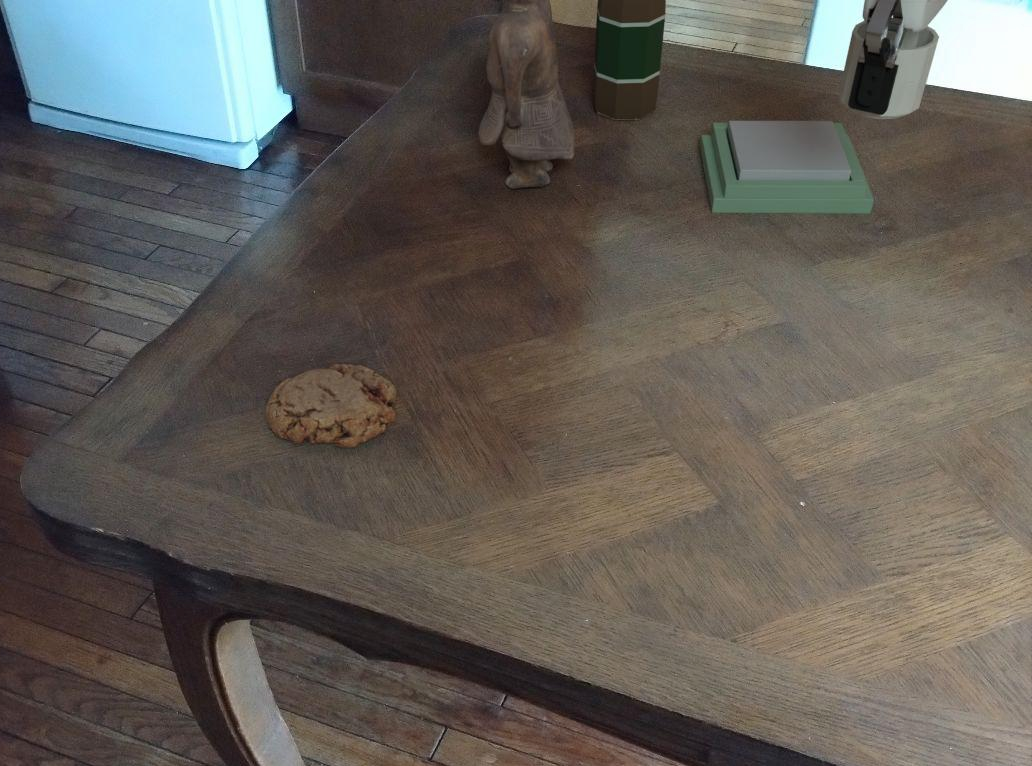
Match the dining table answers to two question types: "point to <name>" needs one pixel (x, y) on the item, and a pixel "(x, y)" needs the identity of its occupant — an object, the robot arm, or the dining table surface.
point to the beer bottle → (628, 57)
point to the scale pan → (787, 150)
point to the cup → (909, 76)
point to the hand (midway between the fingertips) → (881, 91)
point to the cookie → (332, 406)
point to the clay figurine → (526, 94)
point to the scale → (780, 184)
